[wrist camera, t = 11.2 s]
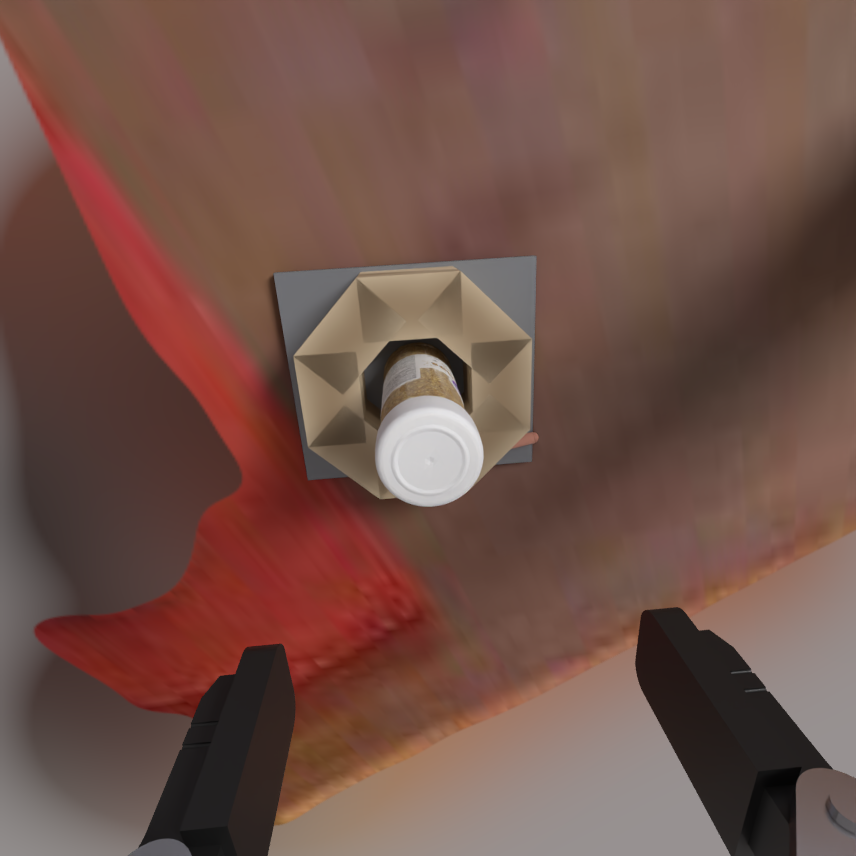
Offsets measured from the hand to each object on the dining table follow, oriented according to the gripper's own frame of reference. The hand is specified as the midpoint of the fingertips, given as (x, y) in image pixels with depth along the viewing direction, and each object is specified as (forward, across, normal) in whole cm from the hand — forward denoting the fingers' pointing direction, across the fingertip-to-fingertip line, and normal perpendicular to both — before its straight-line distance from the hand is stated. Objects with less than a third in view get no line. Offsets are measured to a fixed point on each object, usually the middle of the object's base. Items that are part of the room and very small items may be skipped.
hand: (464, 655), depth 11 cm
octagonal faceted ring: (+23, 0, 0) cm, 23 cm away
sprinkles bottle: (+24, 0, 0) cm, 24 cm away
